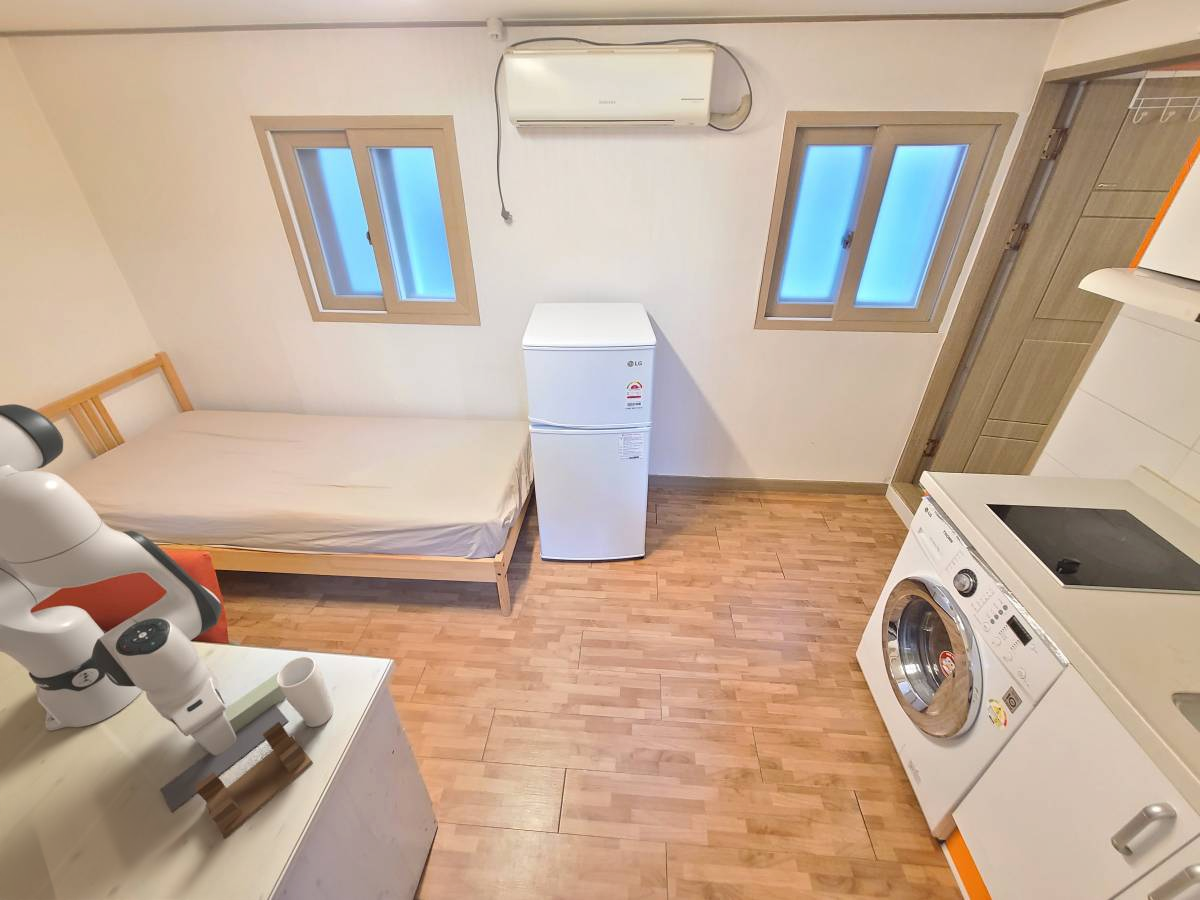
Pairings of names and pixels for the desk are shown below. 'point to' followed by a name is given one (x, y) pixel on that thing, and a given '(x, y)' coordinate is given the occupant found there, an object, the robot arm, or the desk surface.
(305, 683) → the drinking glass
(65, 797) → the desk surface
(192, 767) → the pad
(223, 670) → the desk surface
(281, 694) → the clay strip
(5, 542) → the robot arm
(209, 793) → the rack
